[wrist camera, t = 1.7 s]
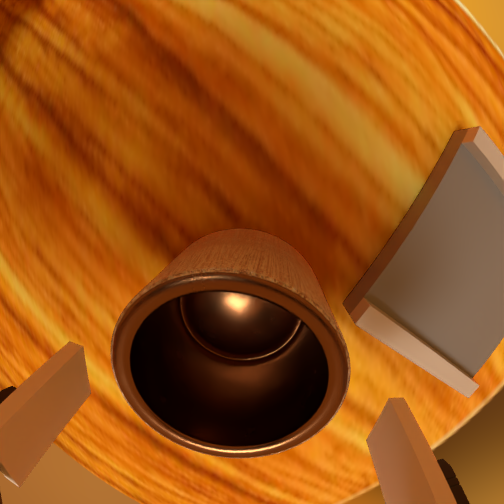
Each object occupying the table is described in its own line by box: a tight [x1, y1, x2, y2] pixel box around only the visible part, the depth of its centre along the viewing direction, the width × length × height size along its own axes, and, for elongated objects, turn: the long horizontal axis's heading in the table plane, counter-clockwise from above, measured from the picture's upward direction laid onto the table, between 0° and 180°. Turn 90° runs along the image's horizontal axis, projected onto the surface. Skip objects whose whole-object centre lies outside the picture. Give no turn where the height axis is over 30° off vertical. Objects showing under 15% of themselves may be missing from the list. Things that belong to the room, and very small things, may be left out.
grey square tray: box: [343, 126, 504, 398], centre depth 18 cm, size 16×16×3 cm
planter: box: [111, 228, 350, 458], centre depth 16 cm, size 11×11×10 cm
